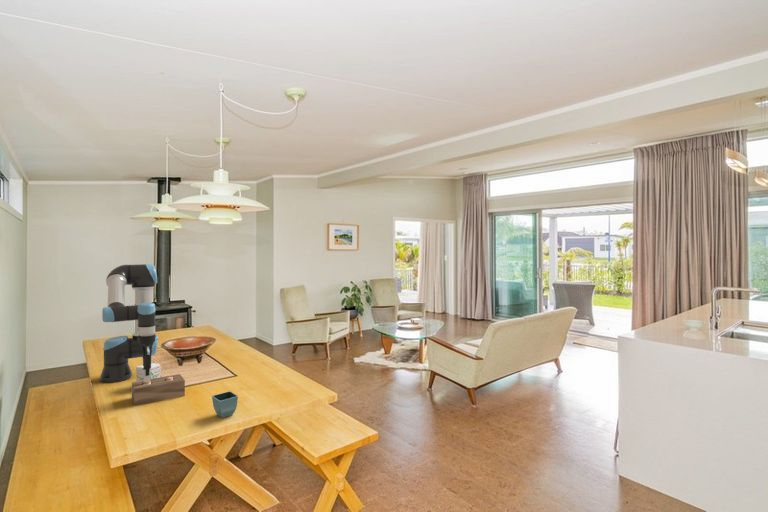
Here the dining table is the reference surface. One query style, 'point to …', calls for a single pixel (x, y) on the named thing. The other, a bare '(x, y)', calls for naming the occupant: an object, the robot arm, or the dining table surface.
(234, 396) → the flower pot
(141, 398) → the walnut block
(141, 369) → the ink box
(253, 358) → the dining table surface
